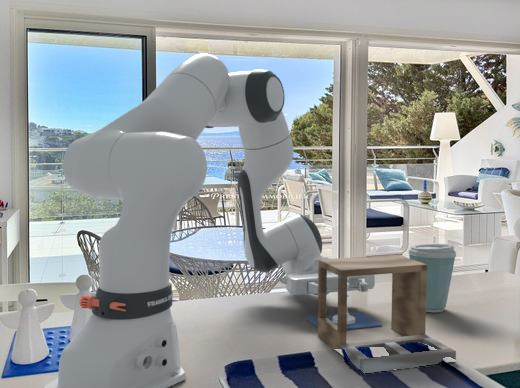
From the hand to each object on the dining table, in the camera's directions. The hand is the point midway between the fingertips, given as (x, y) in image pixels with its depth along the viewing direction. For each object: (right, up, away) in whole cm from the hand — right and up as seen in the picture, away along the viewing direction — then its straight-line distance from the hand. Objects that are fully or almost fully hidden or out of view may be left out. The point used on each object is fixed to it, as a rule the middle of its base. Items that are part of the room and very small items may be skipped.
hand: (344, 289), depth 114 cm
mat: (0, -7, +1) cm, 7 cm away
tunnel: (+5, -8, -15) cm, 17 cm away
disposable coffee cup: (+21, -7, +11) cm, 25 cm away
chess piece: (0, -7, +1) cm, 7 cm away
